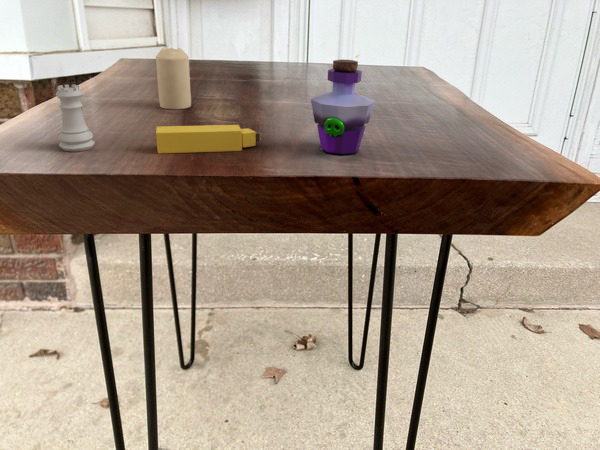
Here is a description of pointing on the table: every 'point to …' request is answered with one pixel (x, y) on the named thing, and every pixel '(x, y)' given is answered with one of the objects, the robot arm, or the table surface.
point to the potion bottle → (342, 111)
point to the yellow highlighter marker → (204, 138)
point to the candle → (173, 78)
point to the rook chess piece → (73, 121)
